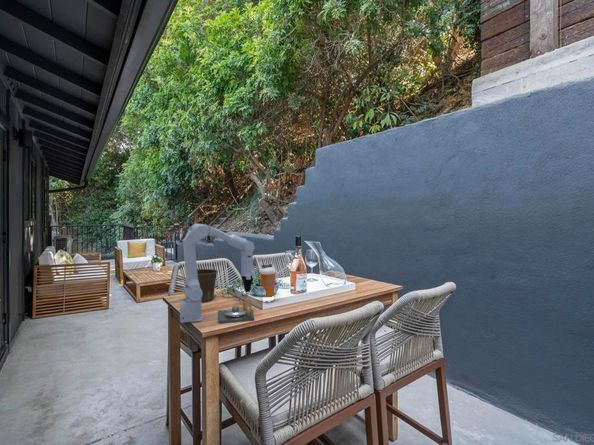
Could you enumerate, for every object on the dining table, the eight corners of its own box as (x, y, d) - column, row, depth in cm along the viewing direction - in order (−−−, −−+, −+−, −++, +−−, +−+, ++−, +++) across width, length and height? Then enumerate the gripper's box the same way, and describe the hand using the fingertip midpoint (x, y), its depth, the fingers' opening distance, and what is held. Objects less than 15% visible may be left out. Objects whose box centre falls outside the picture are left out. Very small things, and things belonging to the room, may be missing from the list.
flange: (232, 318, 145) (232, 308, 145) (220, 313, 152) (220, 304, 152) (256, 311, 155) (256, 302, 154) (244, 307, 162) (244, 298, 162)
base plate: (218, 323, 143) (218, 321, 143) (218, 312, 158) (217, 310, 158) (254, 320, 147) (254, 318, 146) (250, 310, 162) (250, 307, 162)
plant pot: (217, 295, 192) (217, 268, 192) (218, 302, 177) (217, 273, 176) (188, 297, 188) (188, 269, 188) (186, 304, 172) (186, 274, 172)
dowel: (246, 317, 148) (246, 307, 148) (246, 316, 149) (246, 306, 149) (250, 316, 148) (250, 307, 148) (250, 315, 150) (250, 306, 150)
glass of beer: (256, 300, 180) (256, 264, 179) (269, 297, 186) (269, 263, 185) (265, 304, 173) (265, 266, 172) (279, 301, 179) (278, 265, 178)
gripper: (256, 266, 156) (257, 294, 157) (253, 261, 170) (253, 287, 171) (242, 266, 155) (242, 295, 155) (239, 262, 169) (240, 288, 169)
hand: (247, 291), depth 163 cm, fingers open, 3 cm apart
